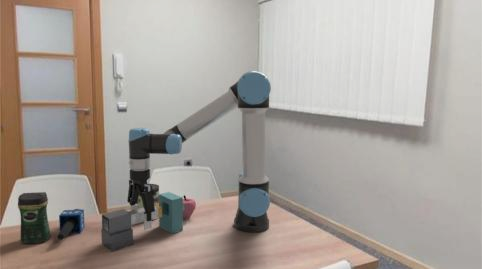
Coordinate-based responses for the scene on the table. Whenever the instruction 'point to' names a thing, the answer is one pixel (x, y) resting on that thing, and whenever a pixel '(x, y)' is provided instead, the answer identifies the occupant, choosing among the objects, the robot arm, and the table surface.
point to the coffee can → (155, 196)
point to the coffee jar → (33, 217)
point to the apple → (188, 207)
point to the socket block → (171, 212)
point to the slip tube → (138, 216)
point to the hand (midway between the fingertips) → (141, 224)
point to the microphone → (71, 222)
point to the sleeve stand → (117, 230)
